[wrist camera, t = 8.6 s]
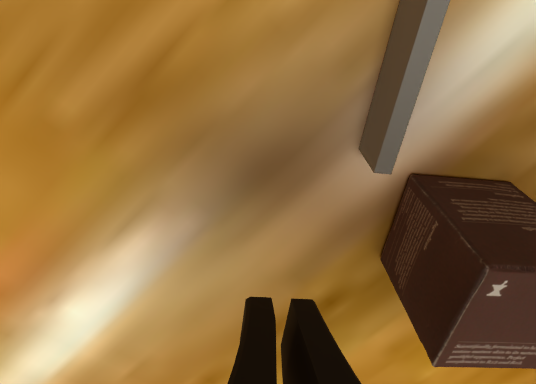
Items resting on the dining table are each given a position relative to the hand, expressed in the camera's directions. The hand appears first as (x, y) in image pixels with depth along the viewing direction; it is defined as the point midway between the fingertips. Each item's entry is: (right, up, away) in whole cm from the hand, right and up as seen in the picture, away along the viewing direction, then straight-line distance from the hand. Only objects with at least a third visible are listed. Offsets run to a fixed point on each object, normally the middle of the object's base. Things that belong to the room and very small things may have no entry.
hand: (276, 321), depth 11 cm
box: (+10, +2, +11) cm, 15 cm away
